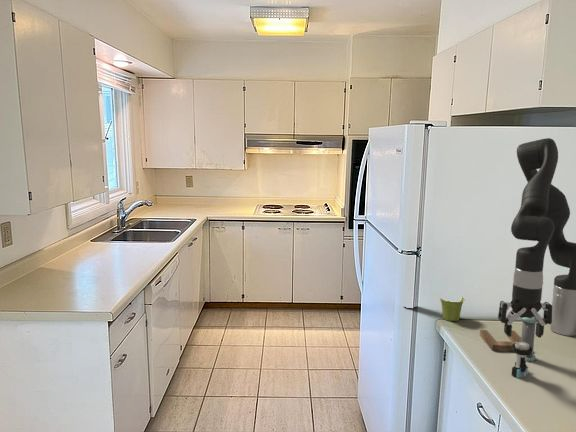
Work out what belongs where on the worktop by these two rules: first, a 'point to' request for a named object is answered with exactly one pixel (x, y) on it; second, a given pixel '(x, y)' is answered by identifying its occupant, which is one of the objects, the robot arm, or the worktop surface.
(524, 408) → the worktop surface
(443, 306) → the plant pot
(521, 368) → the push button
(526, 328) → the spool
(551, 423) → the worktop surface
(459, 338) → the worktop surface
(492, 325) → the worktop surface
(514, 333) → the notched board
